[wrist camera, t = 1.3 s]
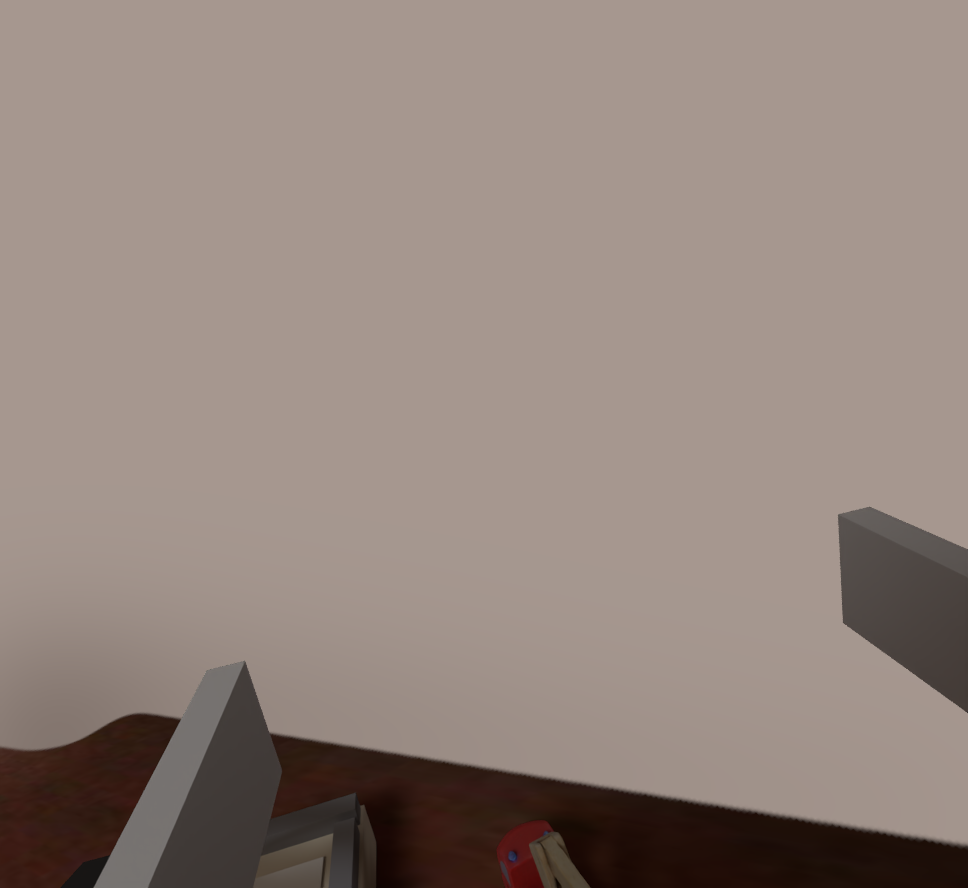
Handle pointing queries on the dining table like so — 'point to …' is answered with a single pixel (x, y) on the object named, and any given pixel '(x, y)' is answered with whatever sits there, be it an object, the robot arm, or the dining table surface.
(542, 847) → the toy fire truck
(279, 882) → the dock
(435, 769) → the dining table surface
